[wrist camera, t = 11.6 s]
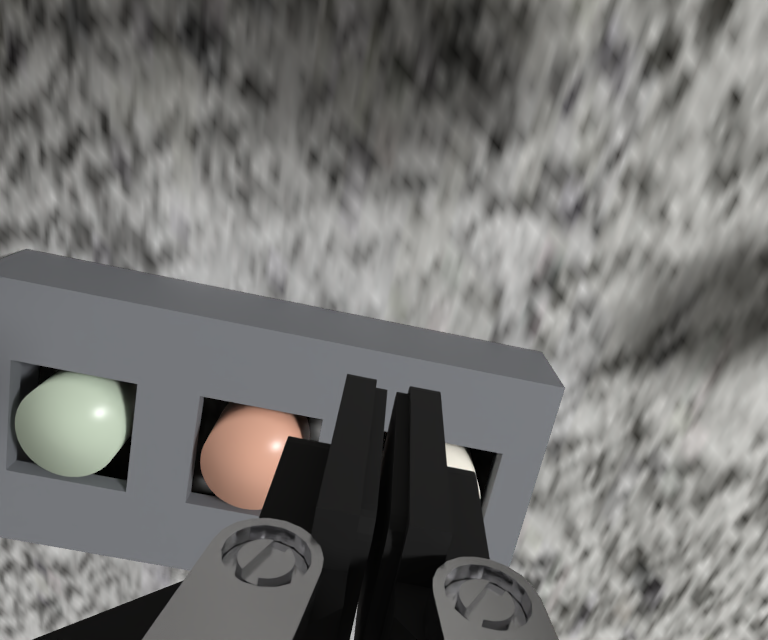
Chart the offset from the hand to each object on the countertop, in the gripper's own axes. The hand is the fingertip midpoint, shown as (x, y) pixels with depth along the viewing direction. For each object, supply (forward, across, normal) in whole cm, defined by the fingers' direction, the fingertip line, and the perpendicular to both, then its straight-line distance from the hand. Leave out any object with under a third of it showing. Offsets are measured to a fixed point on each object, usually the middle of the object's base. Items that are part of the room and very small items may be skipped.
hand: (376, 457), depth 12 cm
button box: (+23, +5, +13) cm, 27 cm away
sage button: (+21, +14, +13) cm, 28 cm away
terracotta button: (+22, +5, +13) cm, 25 cm away
